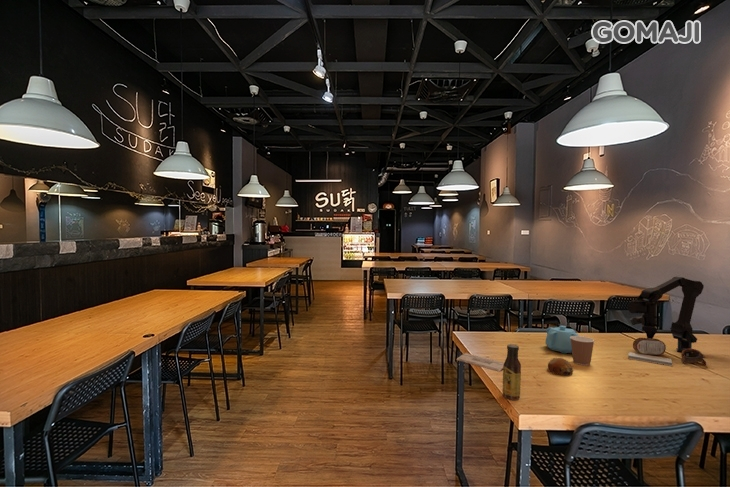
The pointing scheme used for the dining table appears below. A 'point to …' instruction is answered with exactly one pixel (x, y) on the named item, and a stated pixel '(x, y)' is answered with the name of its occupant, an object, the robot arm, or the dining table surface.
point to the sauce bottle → (512, 373)
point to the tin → (649, 346)
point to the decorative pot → (560, 339)
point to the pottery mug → (692, 356)
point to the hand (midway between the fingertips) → (649, 341)
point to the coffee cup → (582, 349)
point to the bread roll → (560, 366)
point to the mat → (650, 358)
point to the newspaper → (481, 361)
